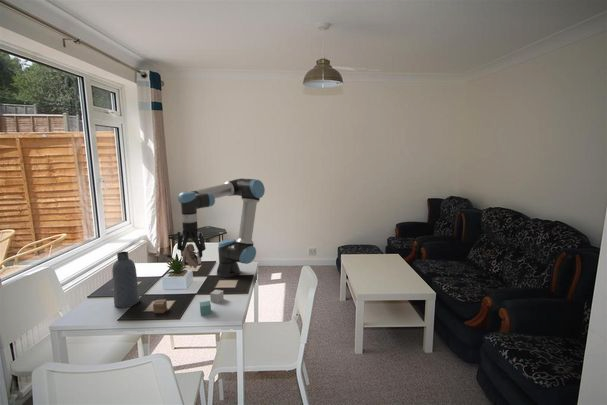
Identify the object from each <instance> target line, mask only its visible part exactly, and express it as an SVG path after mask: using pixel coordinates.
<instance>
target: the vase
mask: <svg viewBox="0 0 607 405" xmlns="http://www.w3.org/2000/svg"><path fill="white" fill-rule="evenodd" d="M116 257H117V260H116V261H115V262H114V263H113V265H112V273H111V274H112V286H113V287H112V288H113V289H112V290H113V304H114V306H115V307H117V308H122V309H123V308H128V307H132V306H134V305H136V304H138V303H139V302H140V298H141V297H140V291H139V285H138V284H139V283H138V282H139V281H138V275H137V269H136V264H135V262H134V261H133V260H132V259H131V258H129V252H128V251H120V252H117V256H116Z"/></svg>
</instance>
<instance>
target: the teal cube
mask: <svg viewBox="0 0 607 405" xmlns="http://www.w3.org/2000/svg"><path fill="white" fill-rule="evenodd" d="M199 311H200V312H199V313H200V317H202V316H208V315H212V306H211V300H207V301H202V302H199Z"/></svg>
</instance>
